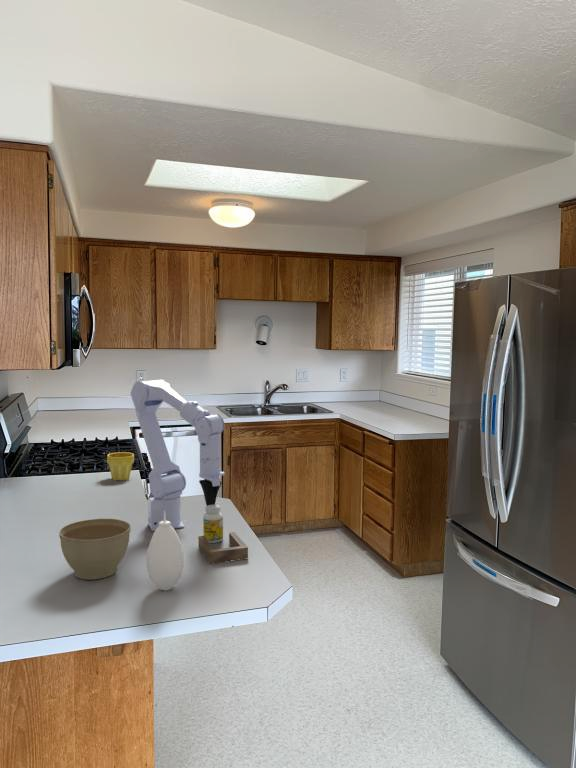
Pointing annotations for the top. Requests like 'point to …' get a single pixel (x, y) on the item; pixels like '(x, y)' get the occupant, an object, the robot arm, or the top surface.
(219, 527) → the supplement bottle
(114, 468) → the plant pot
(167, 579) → the sauce bottle
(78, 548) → the planter bowl
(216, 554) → the u rest
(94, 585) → the top surface
